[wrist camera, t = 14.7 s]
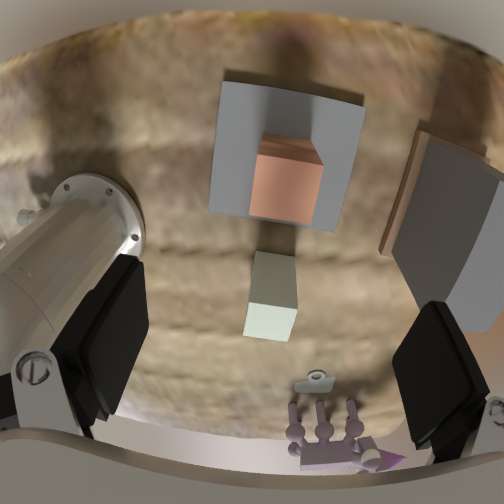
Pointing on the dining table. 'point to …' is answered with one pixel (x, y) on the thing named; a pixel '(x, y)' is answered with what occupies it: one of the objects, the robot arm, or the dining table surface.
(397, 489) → the robot arm
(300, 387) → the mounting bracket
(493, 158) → the dining table surface
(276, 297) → the sage block
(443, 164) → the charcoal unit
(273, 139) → the terracotta block
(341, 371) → the dining table surface
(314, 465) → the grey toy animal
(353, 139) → the mat
